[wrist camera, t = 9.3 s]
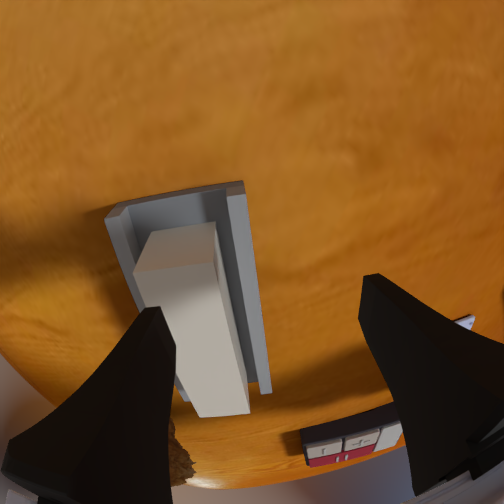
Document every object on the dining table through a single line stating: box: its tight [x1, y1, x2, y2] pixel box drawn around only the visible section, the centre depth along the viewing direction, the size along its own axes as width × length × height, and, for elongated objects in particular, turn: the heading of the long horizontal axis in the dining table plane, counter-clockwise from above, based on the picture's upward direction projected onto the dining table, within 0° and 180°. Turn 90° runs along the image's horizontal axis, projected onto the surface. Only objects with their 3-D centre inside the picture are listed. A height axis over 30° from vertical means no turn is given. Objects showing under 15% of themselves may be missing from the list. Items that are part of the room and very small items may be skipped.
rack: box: [104, 181, 272, 402], centre depth 21 cm, size 18×8×2 cm, turn 7°
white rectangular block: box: [133, 221, 250, 418], centre depth 19 cm, size 14×4×4 cm, turn 7°
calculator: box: [300, 402, 403, 467], centre depth 35 cm, size 11×4×15 cm
